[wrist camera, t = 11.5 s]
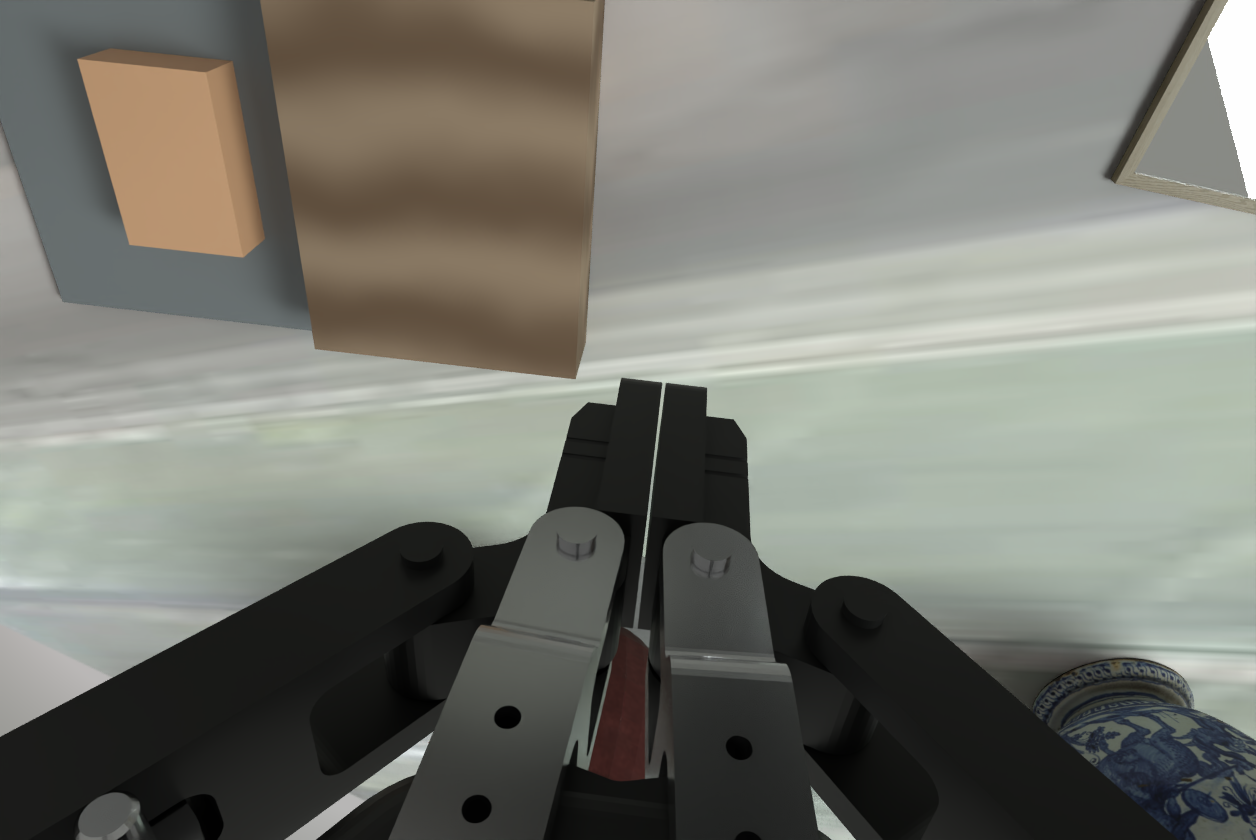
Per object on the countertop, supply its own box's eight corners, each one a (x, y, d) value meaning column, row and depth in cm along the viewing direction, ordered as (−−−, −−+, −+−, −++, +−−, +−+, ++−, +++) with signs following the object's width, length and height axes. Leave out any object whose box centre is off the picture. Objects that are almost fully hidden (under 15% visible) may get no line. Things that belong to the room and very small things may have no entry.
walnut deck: (296, -43, 37) (254, -33, 34) (605, -12, 37) (594, 1, 34) (343, 314, 48) (314, 349, 44) (585, 342, 47) (575, 379, 44)
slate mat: (-68, -105, 37) (-77, -104, 37) (281, -70, 37) (276, -69, 36) (68, 298, 49) (62, 301, 48) (336, 329, 48) (333, 333, 48)
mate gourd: (499, 516, 55) (405, 798, 39) (705, 548, 55) (699, 844, 39) (492, 666, 64) (414, 948, 48) (671, 694, 64) (653, 986, 47)
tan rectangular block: (206, 72, 38) (232, 60, 40) (77, 59, 38) (110, 48, 40) (243, 257, 43) (265, 238, 45) (129, 244, 43) (156, 226, 45)
